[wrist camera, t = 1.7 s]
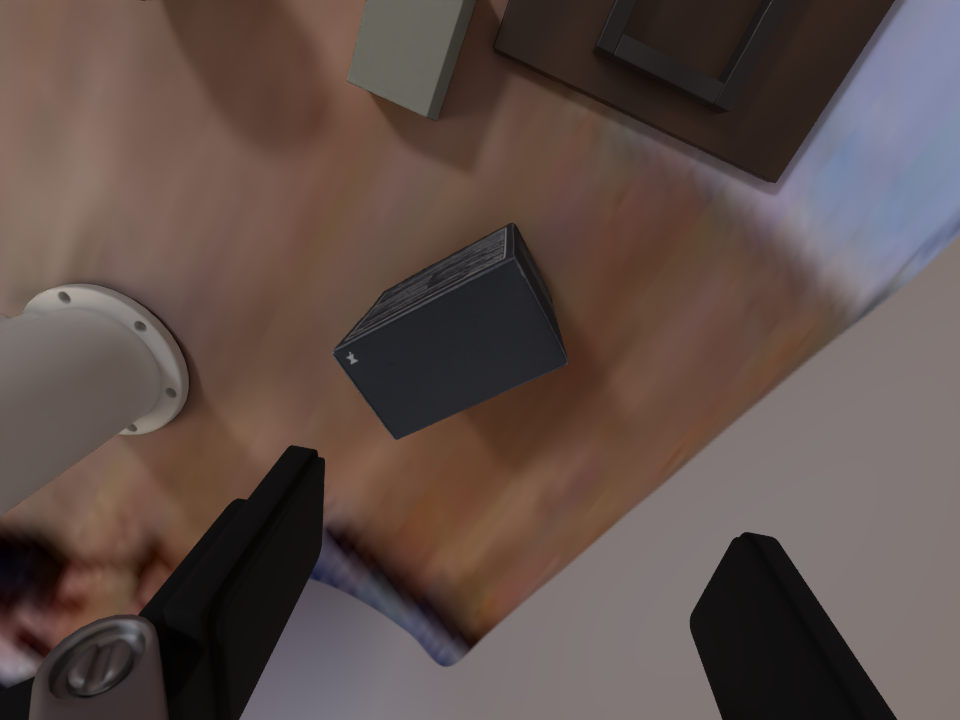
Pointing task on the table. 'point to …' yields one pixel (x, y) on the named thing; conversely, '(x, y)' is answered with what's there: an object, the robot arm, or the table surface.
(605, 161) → the table surface
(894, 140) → the table surface
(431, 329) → the small box
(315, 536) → the robot arm
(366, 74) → the gray rectangular block
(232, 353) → the table surface
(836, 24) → the mounting board
